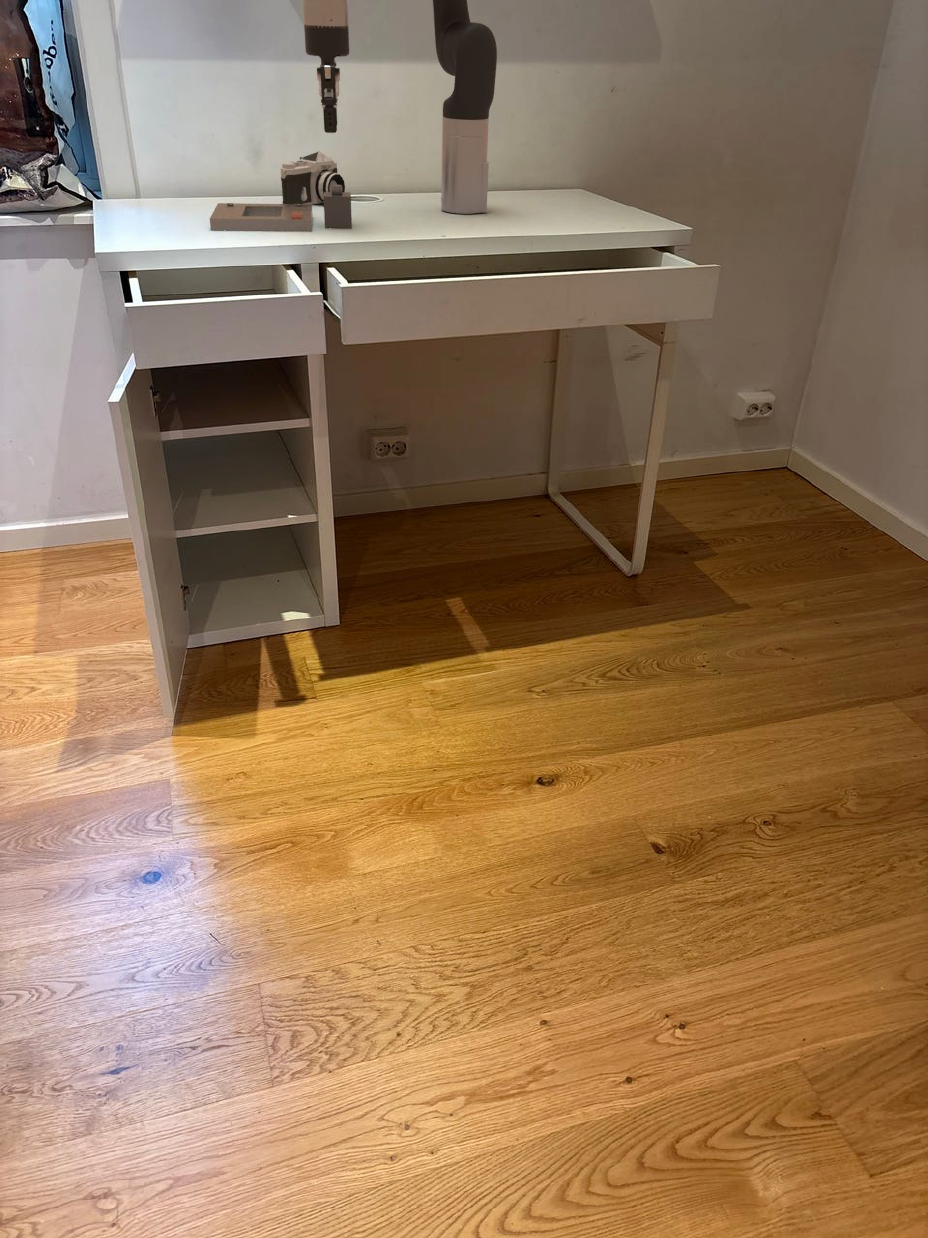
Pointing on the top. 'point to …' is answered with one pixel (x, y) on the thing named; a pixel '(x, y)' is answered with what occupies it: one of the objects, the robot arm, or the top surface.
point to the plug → (337, 208)
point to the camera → (309, 179)
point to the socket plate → (262, 217)
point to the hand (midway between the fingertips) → (331, 129)
